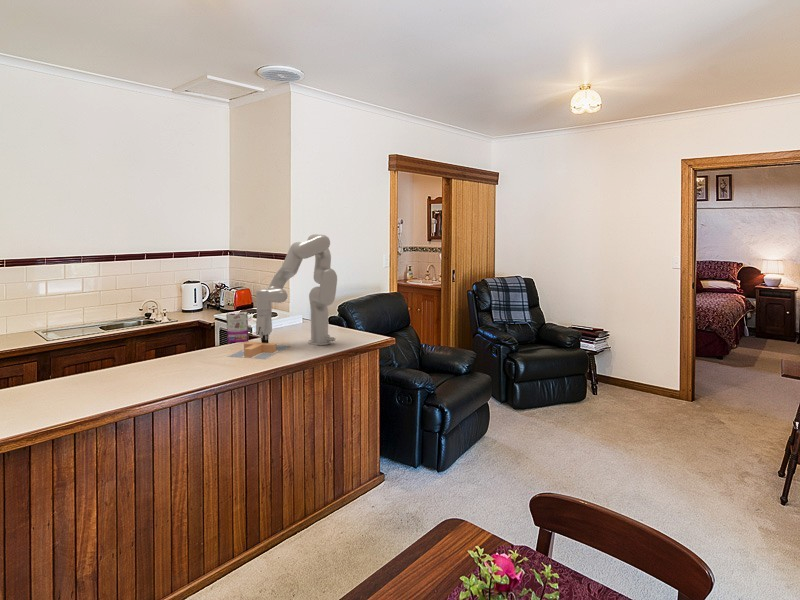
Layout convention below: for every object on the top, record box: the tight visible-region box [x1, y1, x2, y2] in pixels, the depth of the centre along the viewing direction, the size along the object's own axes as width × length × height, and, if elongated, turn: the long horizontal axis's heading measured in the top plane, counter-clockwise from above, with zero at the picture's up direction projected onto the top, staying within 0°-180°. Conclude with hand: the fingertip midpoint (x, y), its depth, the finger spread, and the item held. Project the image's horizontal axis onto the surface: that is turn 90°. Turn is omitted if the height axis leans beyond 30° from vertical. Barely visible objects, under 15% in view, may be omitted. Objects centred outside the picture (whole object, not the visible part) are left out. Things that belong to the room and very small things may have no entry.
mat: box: [227, 344, 291, 360], centre depth 266 cm, size 20×30×1 cm, turn 169°
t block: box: [243, 341, 278, 357], centre depth 260 cm, size 16×15×4 cm
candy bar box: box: [225, 311, 249, 344], centre depth 288 cm, size 11×5×16 cm, turn 105°
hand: (265, 347), depth 271 cm, fingers closed
